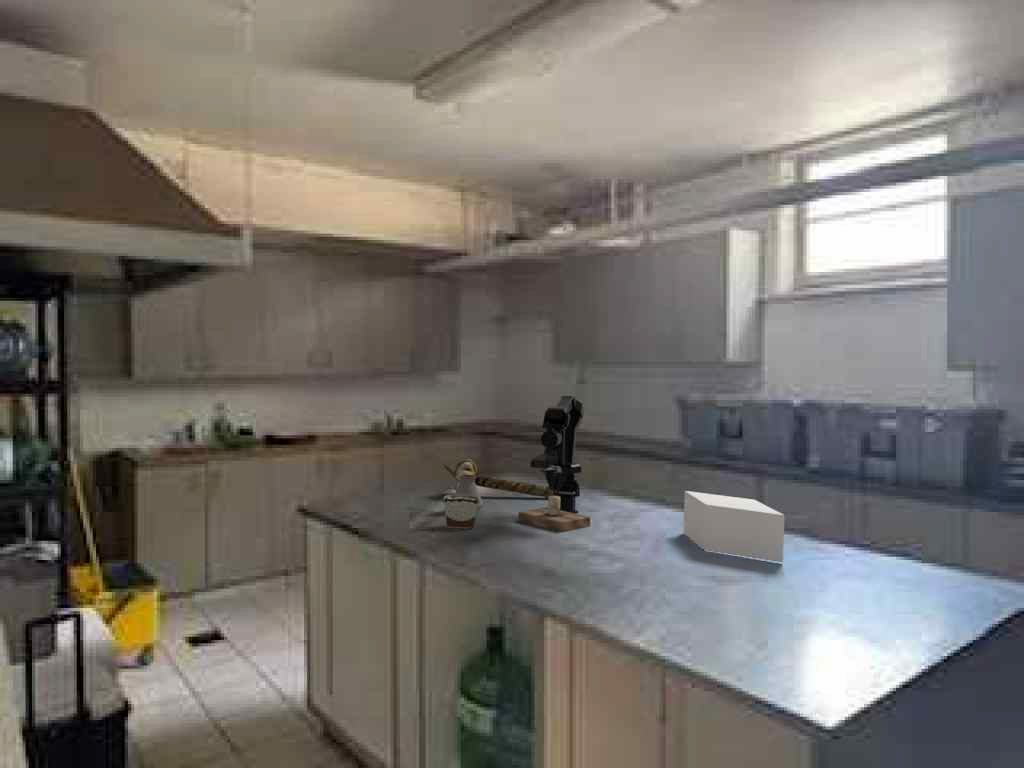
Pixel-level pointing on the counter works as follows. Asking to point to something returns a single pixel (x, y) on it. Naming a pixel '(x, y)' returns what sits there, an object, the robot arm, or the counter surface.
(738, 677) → the counter surface
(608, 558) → the counter surface
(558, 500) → the birch peg
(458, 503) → the food container
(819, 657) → the counter surface
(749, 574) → the counter surface
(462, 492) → the coffee pot
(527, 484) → the decorative mallet
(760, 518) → the box
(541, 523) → the walnut board
